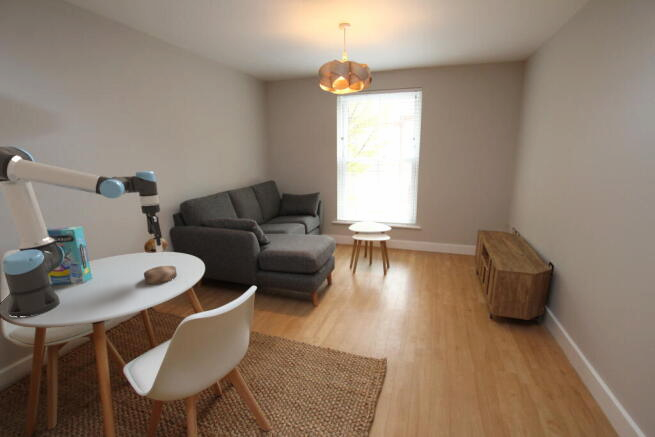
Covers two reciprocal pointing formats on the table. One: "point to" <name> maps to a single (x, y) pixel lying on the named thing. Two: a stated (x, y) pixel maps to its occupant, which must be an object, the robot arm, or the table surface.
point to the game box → (70, 256)
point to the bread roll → (151, 247)
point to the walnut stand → (160, 274)
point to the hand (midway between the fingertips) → (156, 249)
